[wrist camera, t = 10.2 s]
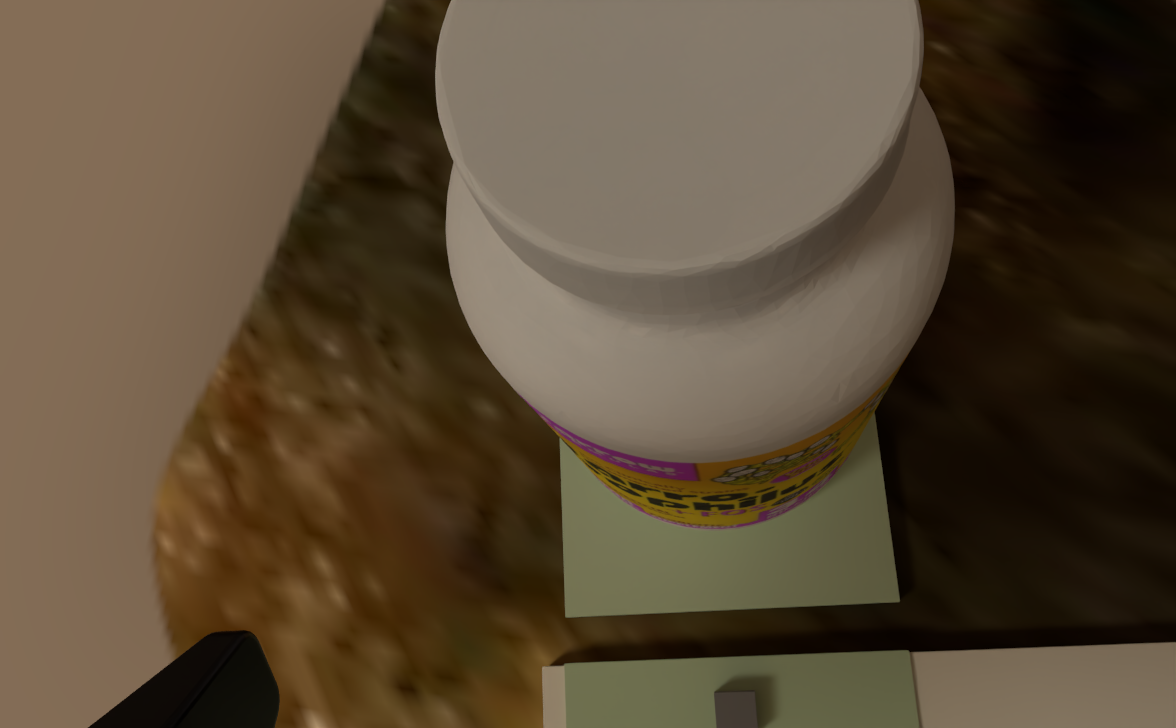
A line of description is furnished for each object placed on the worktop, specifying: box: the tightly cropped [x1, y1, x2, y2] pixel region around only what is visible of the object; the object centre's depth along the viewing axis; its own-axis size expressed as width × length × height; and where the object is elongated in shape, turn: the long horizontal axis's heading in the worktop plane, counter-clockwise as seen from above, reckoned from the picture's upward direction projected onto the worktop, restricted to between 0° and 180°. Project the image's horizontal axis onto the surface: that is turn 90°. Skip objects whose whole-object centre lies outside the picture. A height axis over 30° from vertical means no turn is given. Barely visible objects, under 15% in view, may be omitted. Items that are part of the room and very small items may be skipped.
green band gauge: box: [542, 412, 1176, 728], centre depth 20 cm, size 13×16×1 cm
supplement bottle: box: [435, 0, 955, 531], centre depth 15 cm, size 7×7×13 cm
